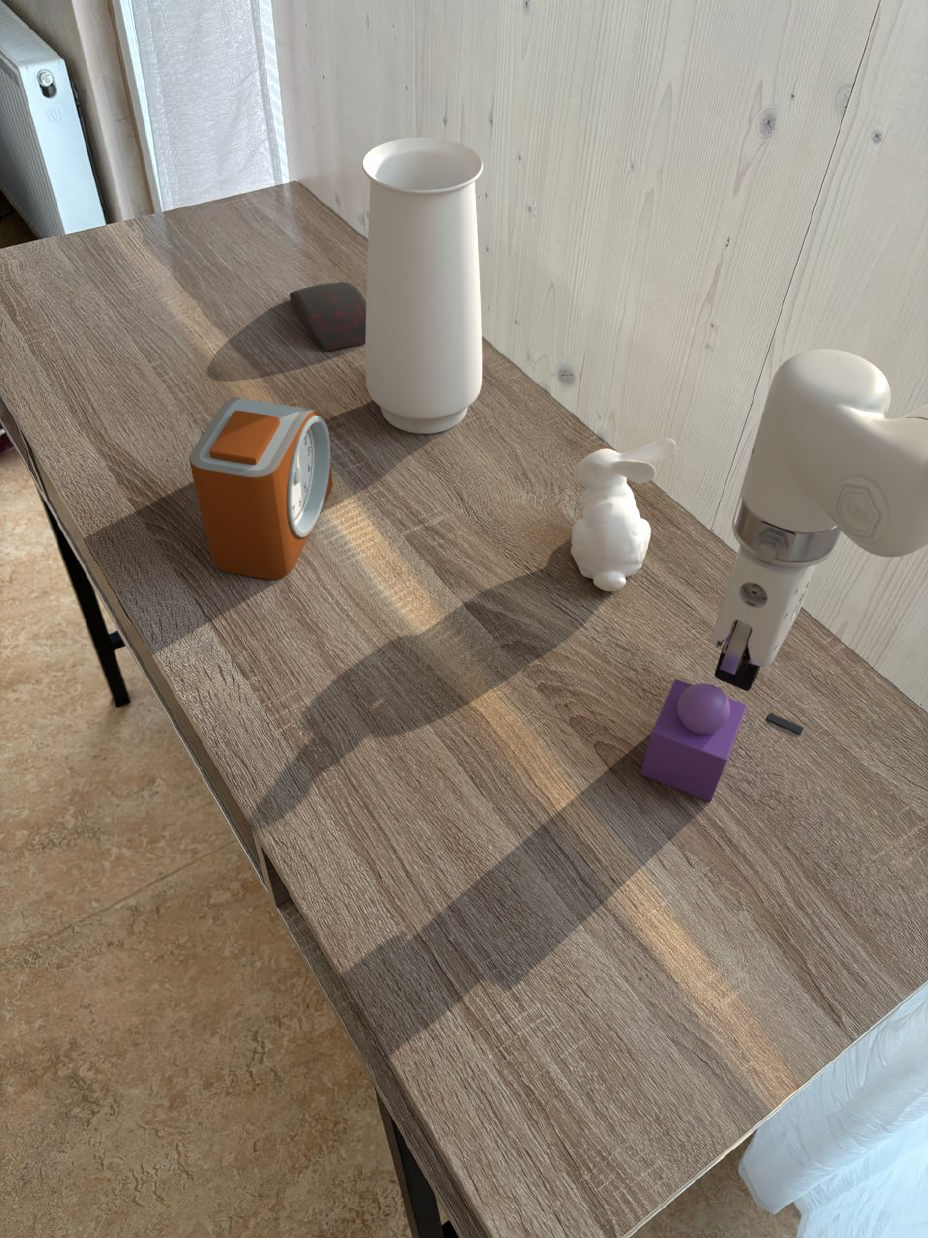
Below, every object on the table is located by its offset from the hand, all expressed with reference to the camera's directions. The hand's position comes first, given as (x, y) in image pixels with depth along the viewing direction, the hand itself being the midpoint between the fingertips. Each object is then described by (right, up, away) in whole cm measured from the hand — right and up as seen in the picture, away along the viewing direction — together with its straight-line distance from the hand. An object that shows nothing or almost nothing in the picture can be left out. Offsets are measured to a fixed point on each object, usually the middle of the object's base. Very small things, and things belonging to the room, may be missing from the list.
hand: (734, 678), depth 87 cm
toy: (-5, -7, -2) cm, 9 cm away
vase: (-28, +29, +30) cm, 50 cm away
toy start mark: (+4, -4, 0) cm, 6 cm away
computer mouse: (-40, +43, +42) cm, 72 cm away
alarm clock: (-42, +14, +16) cm, 48 cm away
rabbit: (-9, +12, +14) cm, 21 cm away
